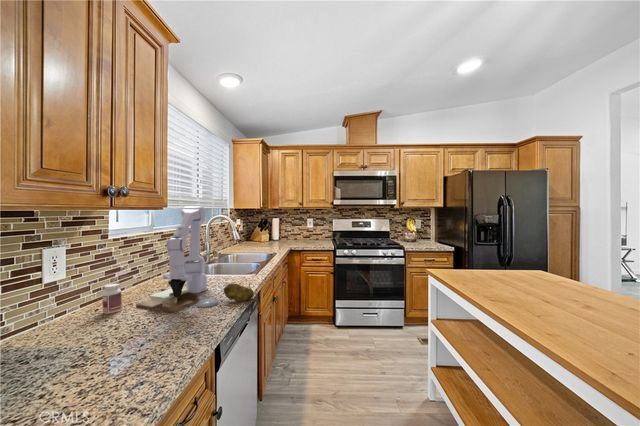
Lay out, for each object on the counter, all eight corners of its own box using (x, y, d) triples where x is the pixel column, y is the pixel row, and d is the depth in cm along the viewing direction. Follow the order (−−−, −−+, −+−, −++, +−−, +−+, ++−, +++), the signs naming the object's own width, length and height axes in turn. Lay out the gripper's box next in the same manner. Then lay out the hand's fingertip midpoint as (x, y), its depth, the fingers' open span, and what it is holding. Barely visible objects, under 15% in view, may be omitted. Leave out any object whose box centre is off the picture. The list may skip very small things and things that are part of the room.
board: (164, 296, 127) (164, 287, 127) (199, 301, 120) (198, 292, 120) (136, 307, 113) (136, 297, 113) (173, 312, 107) (173, 302, 107)
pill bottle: (124, 307, 113) (123, 282, 113) (118, 313, 107) (117, 286, 107) (107, 309, 111) (106, 283, 111) (99, 315, 105) (99, 288, 105)
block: (170, 305, 116) (170, 296, 116) (177, 306, 114) (176, 297, 114) (162, 308, 112) (162, 299, 112) (169, 309, 111) (169, 300, 111)
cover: (174, 289, 123) (174, 285, 123) (189, 291, 120) (189, 286, 120) (149, 298, 111) (149, 293, 111) (165, 300, 109) (165, 295, 109)
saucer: (206, 299, 122) (206, 297, 122) (222, 301, 119) (222, 299, 119) (191, 306, 114) (191, 304, 114) (208, 308, 111) (208, 306, 111)
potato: (250, 303, 117) (250, 285, 117) (221, 304, 116) (221, 286, 116) (254, 297, 125) (254, 280, 125) (227, 297, 125) (227, 281, 124)
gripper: (156, 266, 111) (156, 297, 111) (182, 268, 107) (183, 301, 107) (170, 263, 118) (170, 292, 118) (195, 264, 113) (196, 295, 114)
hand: (177, 296), depth 113 cm, fingers closed
